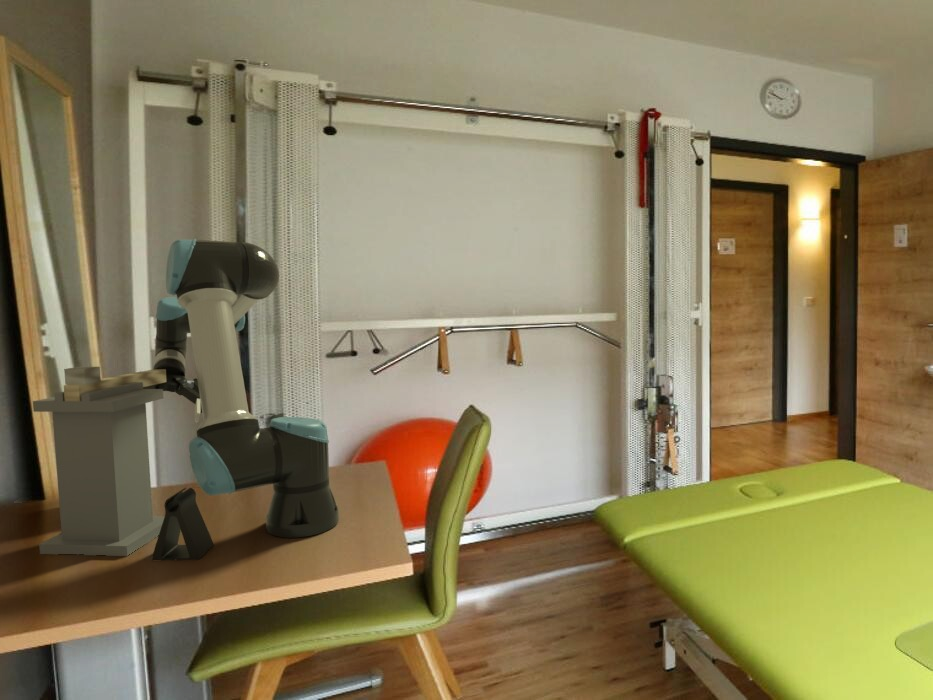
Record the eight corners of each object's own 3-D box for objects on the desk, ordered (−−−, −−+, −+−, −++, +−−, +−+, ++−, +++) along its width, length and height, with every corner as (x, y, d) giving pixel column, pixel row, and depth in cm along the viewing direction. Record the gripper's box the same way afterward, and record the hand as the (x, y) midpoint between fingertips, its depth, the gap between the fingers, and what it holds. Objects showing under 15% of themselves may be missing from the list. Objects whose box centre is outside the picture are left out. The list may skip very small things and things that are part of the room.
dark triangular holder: (214, 546, 109) (210, 487, 108) (199, 560, 103) (195, 497, 102) (168, 546, 109) (165, 487, 108) (151, 560, 103) (147, 498, 102)
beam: (152, 382, 129) (150, 356, 129) (168, 382, 129) (167, 356, 128) (62, 401, 103) (59, 369, 103) (82, 401, 103) (79, 369, 103)
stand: (98, 523, 121) (88, 382, 119) (175, 525, 120) (167, 382, 117) (40, 554, 106) (27, 393, 104) (127, 556, 105) (116, 393, 102)
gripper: (217, 387, 153) (219, 432, 136) (111, 375, 140) (100, 422, 123) (223, 364, 150) (226, 407, 133) (116, 349, 137) (105, 394, 121)
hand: (165, 415), depth 128 cm, fingers open, 13 cm apart
